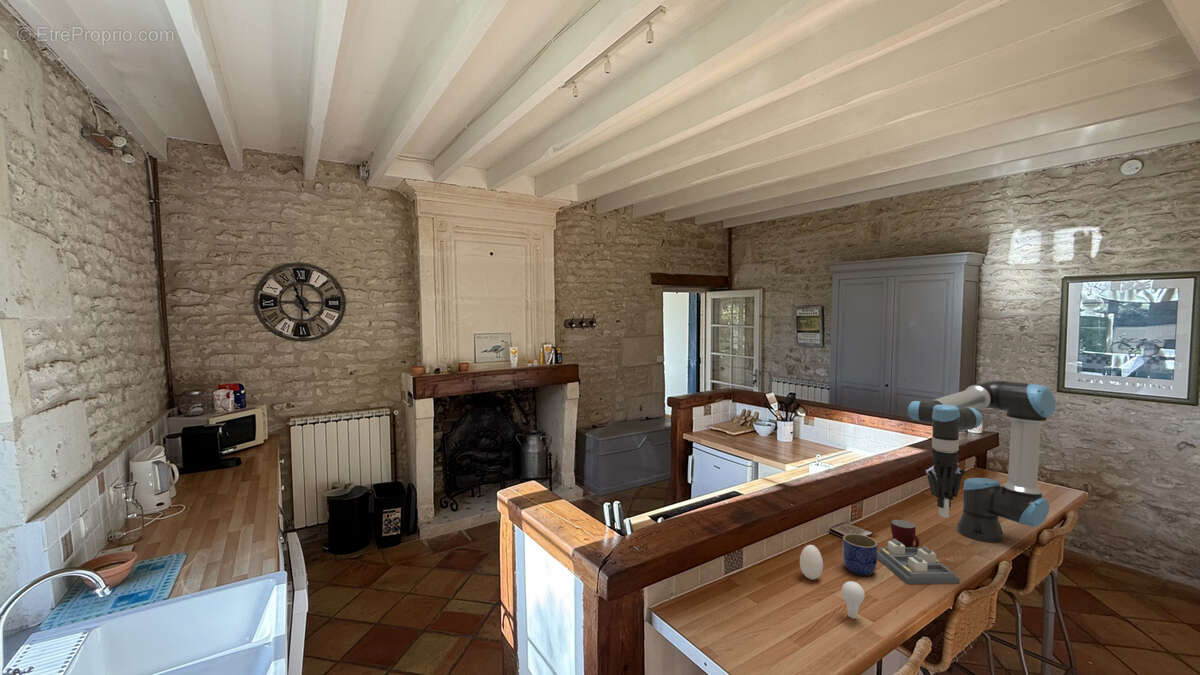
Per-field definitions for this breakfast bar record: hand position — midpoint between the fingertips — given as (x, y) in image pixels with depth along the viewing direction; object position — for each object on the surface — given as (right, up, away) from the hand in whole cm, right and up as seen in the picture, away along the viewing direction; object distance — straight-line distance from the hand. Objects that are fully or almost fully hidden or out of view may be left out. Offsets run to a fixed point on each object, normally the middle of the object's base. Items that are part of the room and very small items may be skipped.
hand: (943, 516), depth 170 cm
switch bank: (-7, -21, +5) cm, 22 cm away
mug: (-2, -20, +18) cm, 27 cm away
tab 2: (-3, -19, +5) cm, 20 cm away
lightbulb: (-44, -23, -23) cm, 54 cm away
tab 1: (-10, -18, +10) cm, 24 cm away
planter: (-27, -21, +4) cm, 35 cm away
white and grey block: (-10, -19, -2) cm, 22 cm away
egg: (-47, -21, -1) cm, 52 cm away
